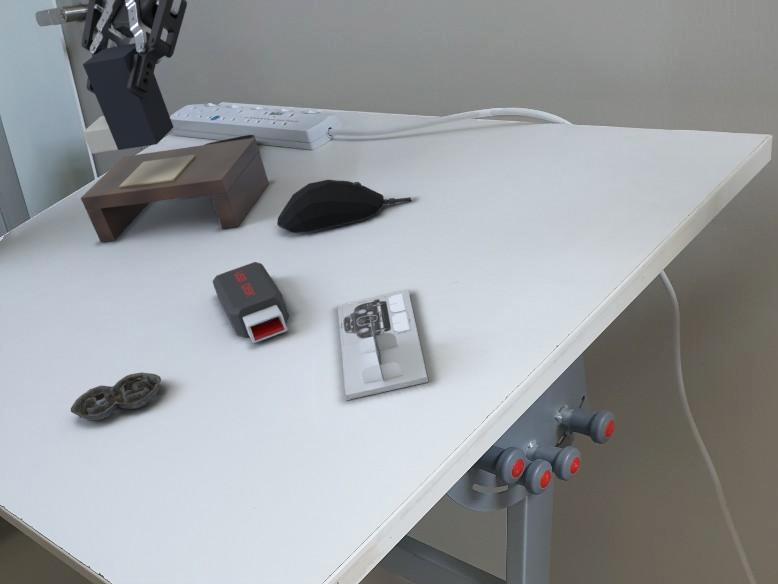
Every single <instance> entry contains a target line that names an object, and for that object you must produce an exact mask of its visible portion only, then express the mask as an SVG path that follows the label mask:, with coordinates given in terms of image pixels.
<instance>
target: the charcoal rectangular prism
mask: <svg viewBox="0 0 778 584" xmlns="http://www.w3.org/2000/svg"><path fill="white" fill-rule="evenodd" d="M134 54H139V53H138V52H137V51H136V44H135V42H134V43H129V44H128V45H123V46H117V47H112V48H109V47H107V49H102V50H101V51H100V52H98V53H97V54H96V55H94V56H93V57H92V56H91V57H90V58H89V59H88V60H86V61H85V62H83V63H82V66H83V69H84V71H85V73H86V76H87V79H88V78H89V81H90V83H91V86H92V88H93V90H94V93H95V94H94V93H93V94H94V95H95V98H96V100H97V102H98V105H99V107H100V110H101V112H102V114H103V115H102V116H99V117H98V118H97V119H96V120H95V121H94V122H92V124H91V125H89V126H88V127H86V129H85V130H83V131H82V135H83V137H84V139H85V141H86V144H87V146H88V148H89V151H90V153H91V154H100V153H105V152H113V151H121V150H122V151H123V150H127V149H135V148H142V147H149V146H154V145H158V144H159V143H160V142H161V141H162V140H163V139H164V138H165V137H166V136H167V135H168V134H169V133H170V132H171V131H172V130H173V129H174V124H173V121H172V119H171V116H170V113H169V111H168V108H167V105H166V102H165V99H164V97H163V95H162V92H161V89H160V87H159V83H158V81H157V78H156V75H155V73H154V74H153V78H152V82H151V87H150V89H149V92H148V96H147V98H139V97H137V96H135V95H134V94H132V93H130V92H129V91H128V89H127V84H128V79H129V75H130V70H131V66H132V62H133V57H134Z"/></svg>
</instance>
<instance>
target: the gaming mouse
mask: <svg viewBox="0 0 778 584" xmlns="http://www.w3.org/2000/svg"><path fill="white" fill-rule="evenodd" d="M411 201H412V197H410V196H409V197H404V198H403V197H401V198H395V197H391V198H388V199H387V198H384V195H383V194H381V193H379V192H377V191H375V190H374V189H371V188H369V187H367V186H365V185H362V183H361V182H359V181H354V182H352V181H349V180H338V179H324V180H318V181H313V182H309V183H308V184H306V185H305V186H303V187H301V189H299V190H297V191H296V192H294V193H292V195H291V197H290V198H289V200H288V201H287V203H286V205H285V206H284V207H283V209H282V210H281V212H280V214H279V215H278V217H277V222H276V225H277V226H278V227H279V228H280V229H283V230H285V231H287V232H289V233H290V232H291V233H294V234H295V233H296V234H308V233H309V234H310V233H314V232H319V231H323V230H328V229H331V228H335V227H339V226H344V225H349V224H353V223H356V222H360V221H365V220H367V219H369V218H371V217H373V216H376V214H377V213H379V211H380V210H382V208H383V207H384V206H385V205H395V204H396V203H405V202H411Z"/></svg>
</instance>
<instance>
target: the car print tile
mask: <svg viewBox="0 0 778 584" xmlns="http://www.w3.org/2000/svg"><path fill="white" fill-rule="evenodd" d="M337 318H338V329H339V330H338V331H339V340H340V351H341V363H342V374H343V386H344V396H345V397H344V398H345V400H346V401H349V400H350V401H351V400H355V399H358V398H363V397H368V396H372V395H377V394H381V393H385V392H390V391H394V390H399V389H403V388H408V387H412V386H416V385H421V384H425V383H429V378H428V373H427V369H426V365H425V360H424V354H423V351H422V345H421V341H420V337H419V332H418V328H417V323H416V319H415V314H414V309H413V305H412V300H411V295H410V291H409V289H404V290H400V291H396V292H392V293H391V292H390V293H387V294H383V295H379V296H374V297H370V298H369V297H368V298H366V299H365V298H364V299H361V300H356V301H352V302H349V303H344V304H340V305H337Z"/></svg>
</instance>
